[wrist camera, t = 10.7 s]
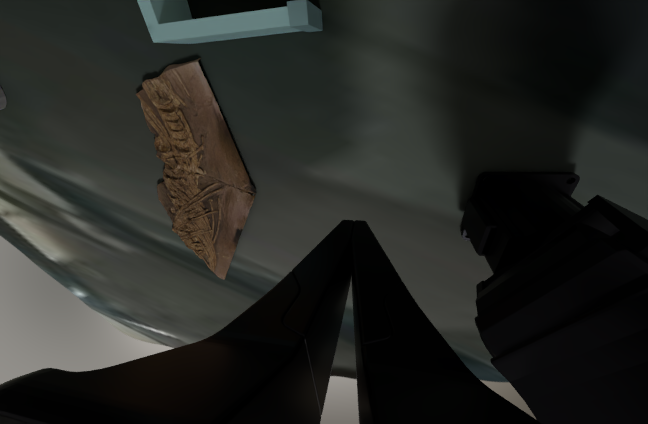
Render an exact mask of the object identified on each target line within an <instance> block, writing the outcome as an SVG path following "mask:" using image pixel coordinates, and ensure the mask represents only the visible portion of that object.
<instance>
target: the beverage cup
mask: <svg viewBox="0 0 648 424" xmlns="http://www.w3.org/2000/svg"><path fill="white" fill-rule="evenodd" d="M6 104H7V101H6V96H5V94H4V92H3V89H2V88H1V86H0V110H2V109H4V108H5V107H6Z"/></svg>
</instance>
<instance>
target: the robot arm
mask: <svg viewBox="0 0 648 424" xmlns="http://www.w3.org/2000/svg"><path fill="white" fill-rule="evenodd" d="M486 177H488V179H487V180H486V181H483V179H484V178H486ZM569 178H571V180H569V181H567V180H568V179H569ZM579 180H580V177H579V176H578V175H576V174H575V173H572V172H484V173H482V174H480V175H479V176H478V178H477V182H476V185H475V188H474V192H473V195H472V197H470V198H469V199H468V202H467V206H466V209H465V212H464V216H463V219H462V225H463V229H462V232H461V235H462V238H463V239H464V240H470V241H471V243H472V245H473V247H474V249H475V251H476V253H477V254H478V255H479V256H485V258H486V260H487V262H488V264H489V266H490V268H491V269H492V271H493V273H494V275H492V276H491V277H490V278H488V279H487V280H485V281H481V282H480V283H479V284H477V286H476V287H477V299H476V306H477V314H478V316H477V317H475V323H476V326H477V328H478V330H479V333H480V336H481V339H482V341H483V343H484V345H485V347H486V348H487V350H488V351H489V353H490V354H491V355H492V357H493V358H491V363H492V365H493V366H494V367H495V368H496V369H497V370H498V371H499V372H500V373H501V374H502V375H503V376H504V377H505V378H506V379H507V380H508V381H509V382H510V383H511V385H512V386H513V387H514V388H515V390H516V391H517V392H518V393H519V395H520V396H521V397H522V398H523V400H524V401H525V402H526V404H527V405H528V407H529V408H530V410H531V411H532V413H533V414H534V416H535V417H536V419H537V420H538V421H537V420H535V419H534V418H533V417H531V416H530V415H528V414H527V413H525V412H524V411H522V410H521V409H519V408H518V407H516V406H515V405H513V404H512V403H510V402H509V401H507V400H506V399H504V398H503V397H501V396H500V395H499V394H497V393H495V392H494V391H492V390H491V389H490V388H488V387H487V386H486V385H485V384H484V383H482V382H481V381H480V380H479V379H478V378H477V377H476V376H475V375H474V374H473V373H472V372H471V371H470V370H469V369H468V368H467V367H466V366H465V364H464V363H463V362H462V361H461V360H460V358H459V357H458V356H457V355H456V353H455V352H454V351H453V349H452V348H451V347H450V346H449V344H448V343H447V342H446V341H445V339H444V338H443V337H442V336H441V334H440V333H439V332H438V331H437V329H436V328H435V327H434V326H433V324H432V323H431V322H430V321H429V319H428V318H427V317H426V315H425V314H424V313H423V311H422V310H421V309H420V307H419V306H418V305H417V303H416V302H415V300H414V299H413V297H412V296H411V294H410V293H409V291H408V290H407V288H406V286H405V285H404V283H403V282H402V280H401V278H400V277H399V275H398V273H397V272H396V270H395V268H394V267H393V265H392V263H391V262H390V260H389V259H388V257H387V255H386V254H385V252H384V250H383V249H382V247H381V245H380V244H379V242H378V240H377V239H376V237H375V236H374V234H373V232H372V231H371V229H370V227H369V226H368V224H367V222H366V221H359V220H356V221H353V220H343V221H341V222H340V223H339V224H338V225H337V226H336V227H335V228H334V229H333V230H332V231H331V232H330V233H329V234H328V235H327V236H326V237H325V238H324V239H323V240H322V241H321V242H320V243H319V244H318V245H317V246H316V247H315V248H314V249H313V250H312V251H311V252H310V253H309V254H308V255H307V256H306V257H305V258H304V259H303V260H302V261H301V262H300V263H299V264H298V265H297V266H296V267H295V268H294V269H293V270H292V272H290V273H289V274H288V275H287V276H286V277H285V278H284V279H282V280H281V281H280V282H279V283H278V284H277V285H276V286H275V287H274V288H273V289H272V290H270V291H269V292H268V293H267V294H266V295H264V296H263V297H262V298H261V299H260V300H258V301H257V302H256V303H255V304H253V305H252V306H251V307H250V308H248V309H247V310H246V311H245V312H243V313H242V314H241V315H239V316H238V317H237V318H236V319H234V320H233V321H232V322H231V323H229V324H228V325H227V326H226V327H224V328H223V329H222V330H220V331H219V332H217V333H215V334H214V335H212V336H210V337H208V338H206V339H204V340H201V341H199V342H196V343H192V344H189V345H185V346H182V347H178V348H175V349H171V350H168V351H164V352H161V353H157V354H154V355H150V356H147V357H143V358H140V359H136V360H133V361H129V362H126V363H122V364H119V365H115V366H111V367H107V368H103V369H98V370H92V371H84V372H69V371H64V370H59V369H53V368H46V369H41V370H38V371H35V372H32V373H29V374H26V375H23V376H20V377H17V378H15V379H12V380H10V381H7V382H5V383H3V384H1V385H0V424H320V421H321V415H322V411H323V406H324V402H325V397H326V393H327V388H328V383H329V378H330V374H331V370H332V365H333V360H334V356H335V351H336V347H337V342H338V337H339V333H340V328H341V324H342V319H343V314H344V310H345V305H346V300H347V296H348V291H349V287H350V282H351V275H352V298H353V316H354V335H355V353H356V372H357V389H358V409H359V424H648V220H647V219H645V218H643V217H641V216H639V215H637V214H635V213H633V212H631V211H629V210H627V209H625V208H623V207H621V206H619V205H617V204H615V203H613V202H611V201H609V200H607V199H605V198H603V197H601V196H599V195H596V196H595V197H594V198H592V199H591V200H590V201H588V203H589V204H588V205H587V206H585V207H584V206H583V205H581V204H580V203H579V202H577V201H576V200H575V199H573V198H572V197H571V195H572V193H573V191H574V189H575V187H576V186H577V184H578V182H579ZM466 235H467V236H466Z"/></svg>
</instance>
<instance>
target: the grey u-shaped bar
mask: <svg viewBox="0 0 648 424" xmlns="http://www.w3.org/2000/svg"><path fill="white" fill-rule="evenodd" d="M137 1H138V4H139V6H140V9H141V11H142V14H143V17H144V19H145V22H146V25H147V27H148V30H149V32H150V35H151V38H152V40H153V42H157V43H178V44H195V43H204V42H212V41H221V40H229V39H238V38H246V37H255V36H264V35H272V34H281V33H289V32H298V31H305V32H314V31H323V27H322V11H321V10H320V9H319V8H317V7H316V6H315V5H313V4H312V3H311V2H309V1H308V0H295V1H288V2H287V6H286V7H279V8H272V9H264V10H257V11H250V12H243V13H236V14H228V15H221V16H214V17H207V18H200V19H192V16H191V12H190V9H189V5H188V2H187V0H137Z"/></svg>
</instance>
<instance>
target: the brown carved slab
mask: <svg viewBox="0 0 648 424" xmlns="http://www.w3.org/2000/svg"><path fill="white" fill-rule="evenodd" d="M199 59H200V58H199ZM199 59H197V60H194V61H190V62H186V63H182V64H173V65H169V66H167V68H166V69H165V70H164V71H163V73H162V74H161V75H160V76H159V77H157V78H153V79H147V80H146V81H144V82H143V84H142V87H143V90H141V91H140V92H138V93H137V94H136V95H137V96H138V98H139V99H140V100H141V107H142V109H143V111H144V115H145V120H146V122H147V125H148V127H149V129H150V131H151V132H152V133H154V134H155V143H154V144H155V148H156V150H157V157H158V158H160V159H161V160H162V161H163V162H165V169H164V171H163V174H164V175H163V179H164V181H163V182H162V183H160V184H159V185H157V192H158V196H159V200H160V201H161V203H162V205H163V206H164V208H165V210H166V211H167V214H168V215H169V216H170V217H171V220H172V222H173V227H172V230H173V231H174V232H175V233H177V234H178V235H179V236H180V238H181V240H182V241H184V243H185V244H186V246H187V247H188V248H189V249H192V250H193V251H194V252H195V253H196V255H198V256H199V257H200V259H201V258H202V259H203V260H204V261H205V262H206V264H207V266H208V267H209V268H210V269H211V270H212V271H213V272H214V273H215V274H216V275H217V276H218V277H219V278H222V279H225V276H226V274H227V271H228V268H229V266H230V262H231V260H232V257H233V255H234V252H235V249H236V246H237V244H238V240H239V237H240V235H241V232H242V230H243V227H244V225H245V222H246V219H247V217H248V213H249V211H250V210H249V209H250V208H251V206H252V203H253V200H254V198H255V195H256V190H255V188H254V186H253V185H252V184H251V182H250V179H249V177H248V175H247V173H246V170H245V168H244V166H243V163H242V161H241V158H240V156H239V154H238V151H237V149H236V147H235V144H234V142H233V140H232V138H231V135H230V133H229V130H228V128H227V125H226V123H225V121H224V119H223V116H222V114H221V112H220V109H219V106H218V104H217V102H216V101H215V98H214V95H213V93H212V91H211V89H210V87H209V85H208V82H207V80H206V78H205V77H204V75H203V72H202V70H201V68H200V66H199V63H198V60H199ZM248 192H251V193H252V194H253V193H254V194H255V195H254V196H252V195H250V194H248Z"/></svg>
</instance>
